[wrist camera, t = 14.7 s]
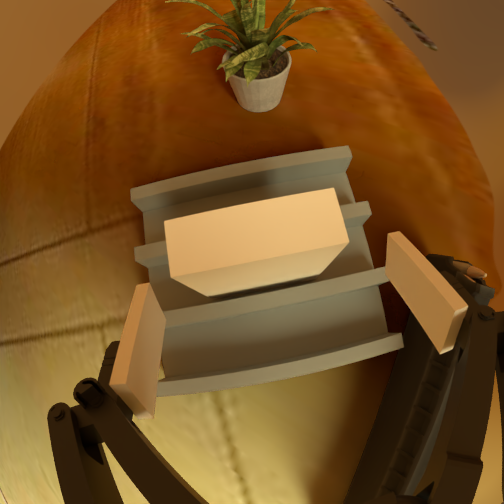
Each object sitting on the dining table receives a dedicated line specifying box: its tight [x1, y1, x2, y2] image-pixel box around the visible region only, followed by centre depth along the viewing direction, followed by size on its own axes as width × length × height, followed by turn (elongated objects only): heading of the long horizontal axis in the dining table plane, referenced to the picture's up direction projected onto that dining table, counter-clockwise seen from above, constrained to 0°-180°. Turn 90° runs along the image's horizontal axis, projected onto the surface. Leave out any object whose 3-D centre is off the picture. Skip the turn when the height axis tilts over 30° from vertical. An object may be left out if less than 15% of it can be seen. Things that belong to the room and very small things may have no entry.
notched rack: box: [130, 146, 404, 397], centre depth 26 cm, size 18×20×4 cm
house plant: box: [167, 0, 334, 112], centre depth 26 cm, size 14×14×16 cm
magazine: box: [343, 254, 495, 504], centre depth 20 cm, size 17×3×30 cm
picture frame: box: [164, 188, 349, 299], centre depth 21 cm, size 3×9×12 cm, turn 101°
